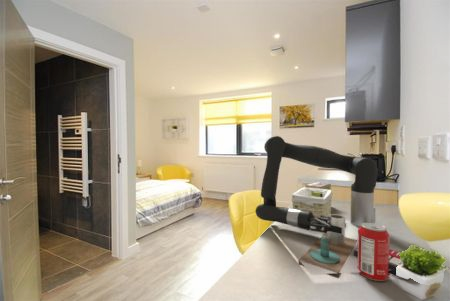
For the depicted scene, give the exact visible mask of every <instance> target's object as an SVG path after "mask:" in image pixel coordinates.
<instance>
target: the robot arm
mask: <svg viewBox="0 0 450 301" xmlns="http://www.w3.org/2000/svg"><path fill="white" fill-rule="evenodd" d="M264 151H265V153H266V154H267V155H266V166H265V170H264V174H263V178H262V182H261V189H260V190H261V191H260V196H261V198H262V199H263V203H261V204H259V205H257V206H256V208H255V214H256V216H257V218H259V219H260V220H262V221H268V222H275V223H280V224H282V225H283V224H284V225H288V226H291V227H294V228H298V229H302V230H306V231H313V232H319V233H323V234H324V233H328V232H330V231H331V232H335V233H340V234H341V233H342V228H341V227H337V226H332V225H329V224H328V217H326V216H320V217H314V216H313V213H312V212H309V211H304V210H298V209H293V208H290V207H289V208H288V207H284V206H277V199H276V194H277V188H278V181H279V173H280V166H281V162H282V159H283V158H286V159H290V160H294V161H296V162H300V163H304V164H307V165H310V166H313V167H318V168H324V169H335V170H340V171H343V172H346V173H349V174H352V175H354V177H355V179H354V183H352V184H351V185H350V224H351V225H352V226H355V227H358V228H359V227H360V226H361V223H375V224H376V207H375V208H374V204H375V203H374V202H375V200H374V198H375V188H376V186H377V178H378V177H377V175H378V165H377V163H376V162H375V161H374V160H373V159H372V158H369V157H364V156H363V157H362V156H350V155H345V154H340V153H338V152H336V151H333V150H330V149H327V148H324V147H319V146H314V145H306V144H293V143H289V142H287V141H286V142H285V140H284V139H283V138H282V137H281V136H279V135H274V136H271V137H269V138H268V139H267V140H266V142H265V143H264ZM346 226H347V224H346V223H345V229H346Z"/></svg>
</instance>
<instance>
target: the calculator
mask: <svg viewBox="0 0 450 301" xmlns="http://www.w3.org/2000/svg"><path fill="white" fill-rule="evenodd" d="M353 256H354V257H357V258H358V247H357V248H355V249H354V250H353ZM401 264H402V261H401V259H400V256H399V251H396V250H393V249H391V248H389V274H390V275H393V276H395V277H397V276H396V267H397V266H398V265H401Z"/></svg>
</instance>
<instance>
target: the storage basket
mask: <svg viewBox="0 0 450 301" xmlns="http://www.w3.org/2000/svg"><path fill="white" fill-rule="evenodd" d="M312 193H319V194H323V197H316V196H312V195H311V194H312ZM332 199H333V190H332V189H331V190H327V189H318V188H307V187H305V186H303V187H302V188H300V189H299V190H297V191H295V192H293V193H292V194H291V202H292V209H298V210H304V211H309V212H312V213H313V216H314V217H320V216H326V217H328V215H329V214H331V212H332V207H331V206H332Z"/></svg>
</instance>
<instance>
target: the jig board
mask: <svg viewBox="0 0 450 301" xmlns="http://www.w3.org/2000/svg"><path fill="white" fill-rule="evenodd" d="M356 243H358V239H355V238H350V237H347V236H345V244H344V245H334V244H331V243H329V239H328V232H327V233H323V234H322V235H321V236H320V238H318V240H317V241H315V243H314V244H312V246H310V247H309V249H308V250H307V251H306V252H305V253H303V255H302V256H301V257H300V258H299V259H298V265H300V266H301V267H302V266H303V267H305V265H304V264H303V263H302V262H304V263H307V264H309V265H312V266H316V267H319V268H322V269H325V270H327V271H331V272H333V273H330V272H329V273H327V275H329V276H331V277H335V278H336V279H339V278H340V277H341V274H342V272H341V270H342V268H343V267H344V265H345V263H346V261H347V260H348V258H349V256H350V254H351V252H352V250H353V249H354V247H355V245H356Z"/></svg>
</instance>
